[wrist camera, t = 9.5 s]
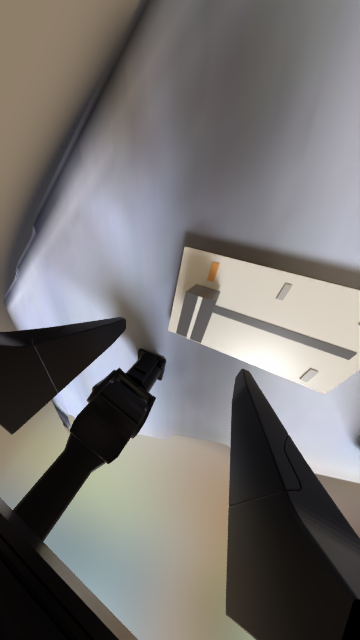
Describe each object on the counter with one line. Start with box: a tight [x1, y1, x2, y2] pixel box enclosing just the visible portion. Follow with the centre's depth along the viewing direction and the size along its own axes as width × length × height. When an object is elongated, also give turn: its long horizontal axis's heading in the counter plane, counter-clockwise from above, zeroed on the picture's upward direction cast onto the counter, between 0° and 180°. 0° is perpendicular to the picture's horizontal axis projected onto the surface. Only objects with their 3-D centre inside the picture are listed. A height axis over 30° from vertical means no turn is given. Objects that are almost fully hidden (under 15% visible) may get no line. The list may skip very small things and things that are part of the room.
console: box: [168, 247, 360, 394], centre depth 16 cm, size 12×22×2 cm, turn 77°
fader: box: [176, 284, 221, 343], centre depth 15 cm, size 5×3×4 cm, turn 167°
